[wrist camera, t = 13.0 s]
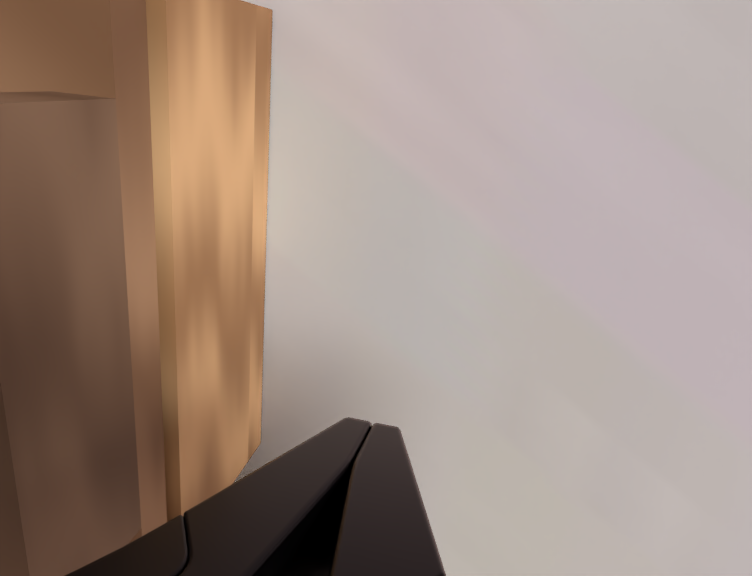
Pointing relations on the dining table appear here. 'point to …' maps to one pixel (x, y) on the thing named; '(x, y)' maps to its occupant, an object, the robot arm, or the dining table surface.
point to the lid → (77, 286)
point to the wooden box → (209, 234)
